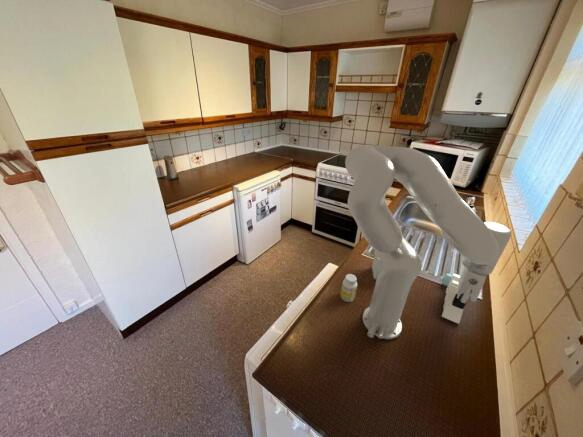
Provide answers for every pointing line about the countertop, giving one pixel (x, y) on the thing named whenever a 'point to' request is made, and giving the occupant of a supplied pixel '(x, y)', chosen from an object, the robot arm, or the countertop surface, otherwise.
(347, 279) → the supplement bottle
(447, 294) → the domino
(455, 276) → the domino
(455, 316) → the domino
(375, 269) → the small box
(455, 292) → the domino
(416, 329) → the countertop surface
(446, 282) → the domino
